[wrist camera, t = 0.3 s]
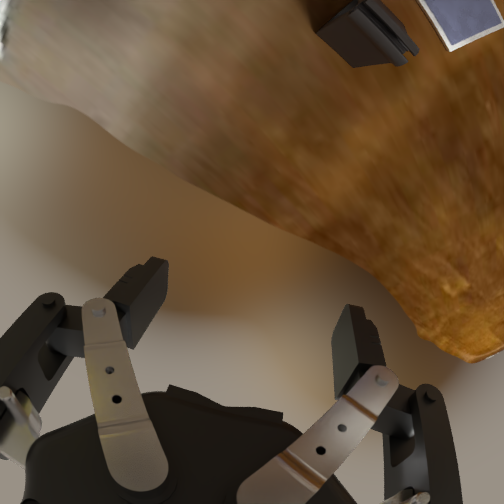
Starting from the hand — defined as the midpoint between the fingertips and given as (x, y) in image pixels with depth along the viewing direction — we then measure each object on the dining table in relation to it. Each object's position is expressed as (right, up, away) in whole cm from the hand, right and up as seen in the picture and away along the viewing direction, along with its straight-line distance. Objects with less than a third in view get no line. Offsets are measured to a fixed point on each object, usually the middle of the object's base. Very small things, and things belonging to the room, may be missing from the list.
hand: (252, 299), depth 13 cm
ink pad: (+24, +32, +6) cm, 40 cm away
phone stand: (+12, +28, +12) cm, 33 cm away
